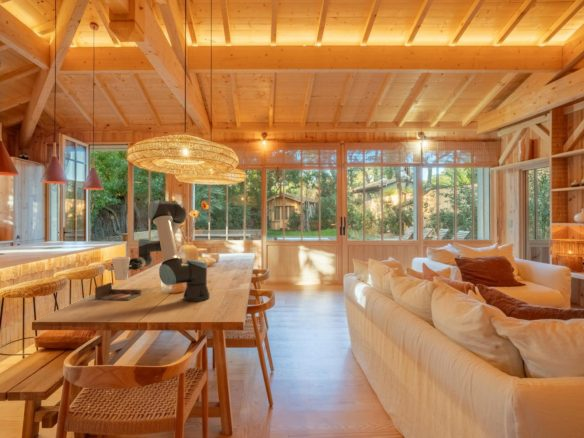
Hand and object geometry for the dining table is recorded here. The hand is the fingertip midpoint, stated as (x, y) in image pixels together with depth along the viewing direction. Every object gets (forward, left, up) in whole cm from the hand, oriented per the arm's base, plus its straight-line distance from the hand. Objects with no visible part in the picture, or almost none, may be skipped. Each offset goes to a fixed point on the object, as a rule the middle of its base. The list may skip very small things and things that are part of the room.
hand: (116, 268), depth 195 cm
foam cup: (0, -4, -7) cm, 8 cm away
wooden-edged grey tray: (+1, -4, -18) cm, 18 cm away
